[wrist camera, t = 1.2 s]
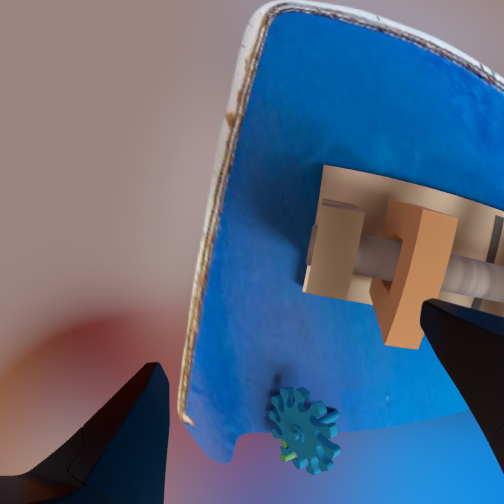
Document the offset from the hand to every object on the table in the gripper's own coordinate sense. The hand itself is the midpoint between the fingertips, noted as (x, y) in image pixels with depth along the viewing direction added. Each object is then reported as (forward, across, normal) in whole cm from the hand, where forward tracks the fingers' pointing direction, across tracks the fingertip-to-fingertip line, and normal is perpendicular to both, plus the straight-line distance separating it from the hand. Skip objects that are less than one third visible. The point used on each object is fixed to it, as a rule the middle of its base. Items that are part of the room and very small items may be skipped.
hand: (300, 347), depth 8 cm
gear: (+13, -2, +20) cm, 24 cm away
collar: (+10, -9, +2) cm, 14 cm away
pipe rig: (+10, -15, +4) cm, 19 cm away
